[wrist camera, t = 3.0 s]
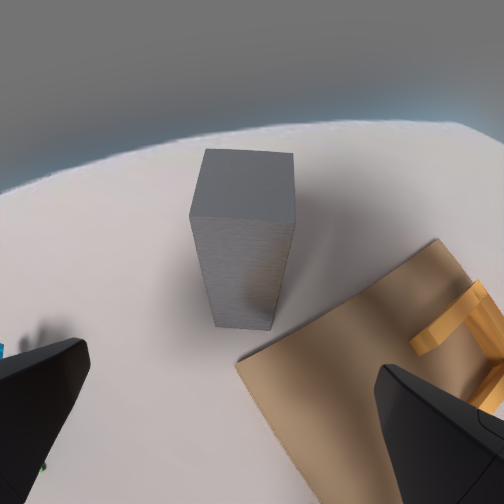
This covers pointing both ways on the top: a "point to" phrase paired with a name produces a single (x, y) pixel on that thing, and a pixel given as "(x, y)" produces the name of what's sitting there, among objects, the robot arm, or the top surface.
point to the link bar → (243, 232)
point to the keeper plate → (376, 371)
